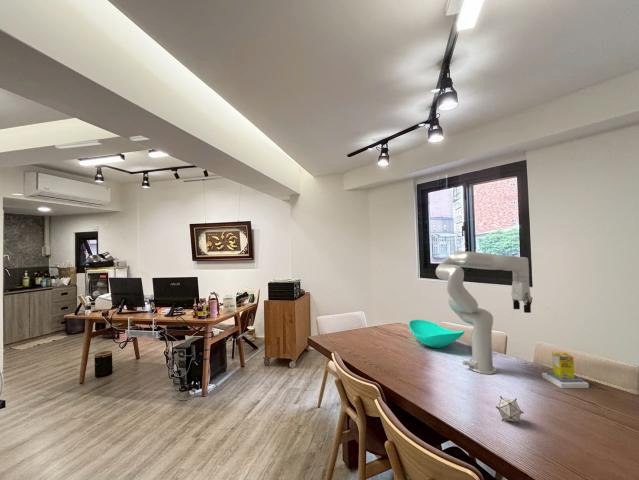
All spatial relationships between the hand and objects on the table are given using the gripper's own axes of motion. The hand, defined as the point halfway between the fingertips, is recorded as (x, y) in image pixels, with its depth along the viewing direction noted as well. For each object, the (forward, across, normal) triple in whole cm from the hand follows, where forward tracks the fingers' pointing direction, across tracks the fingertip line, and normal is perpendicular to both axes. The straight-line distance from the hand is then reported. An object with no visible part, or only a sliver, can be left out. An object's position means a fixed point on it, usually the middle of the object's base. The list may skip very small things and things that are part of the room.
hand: (521, 310), depth 165 cm
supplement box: (+27, +22, +5) cm, 35 cm away
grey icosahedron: (+30, +56, -38) cm, 74 cm away
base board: (+29, +22, +6) cm, 37 cm away
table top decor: (+30, -32, -37) cm, 57 cm away
